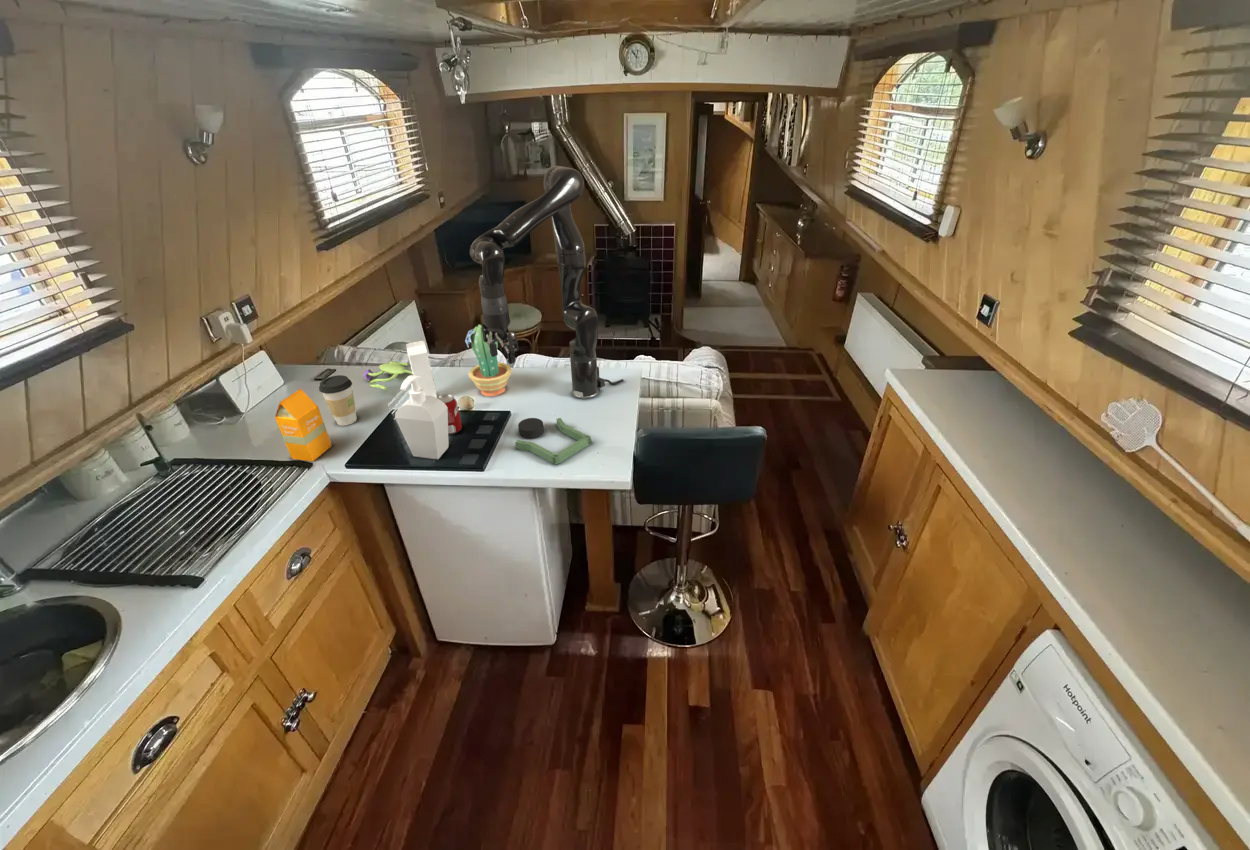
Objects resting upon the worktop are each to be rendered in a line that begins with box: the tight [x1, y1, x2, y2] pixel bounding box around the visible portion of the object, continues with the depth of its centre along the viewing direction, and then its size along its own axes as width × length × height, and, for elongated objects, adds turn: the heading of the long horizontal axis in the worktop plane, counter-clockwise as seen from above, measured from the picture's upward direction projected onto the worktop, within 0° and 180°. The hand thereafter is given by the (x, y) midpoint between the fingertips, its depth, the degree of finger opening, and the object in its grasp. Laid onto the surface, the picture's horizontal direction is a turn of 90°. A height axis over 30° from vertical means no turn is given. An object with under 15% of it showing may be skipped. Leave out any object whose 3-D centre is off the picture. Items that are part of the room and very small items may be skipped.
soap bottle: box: [394, 374, 449, 460], centre depth 163 cm, size 12×10×26 cm
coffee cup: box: [318, 374, 358, 426], centre depth 183 cm, size 10×10×15 cm
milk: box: [405, 340, 438, 398], centre depth 193 cm, size 6×6×22 cm
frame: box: [515, 417, 592, 466], centre depth 172 cm, size 19×16×2 cm
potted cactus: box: [464, 324, 512, 397], centre depth 197 cm, size 15×15×25 cm
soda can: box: [437, 393, 463, 436], centre depth 177 cm, size 7×7×12 cm
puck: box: [517, 417, 545, 440], centre depth 178 cm, size 8×8×3 cm
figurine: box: [362, 360, 413, 392], centre depth 210 cm, size 18×27×6 cm
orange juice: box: [274, 388, 332, 462], centre depth 166 cm, size 8×9×20 cm
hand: (503, 359), depth 172 cm, fingers open, 8 cm apart
